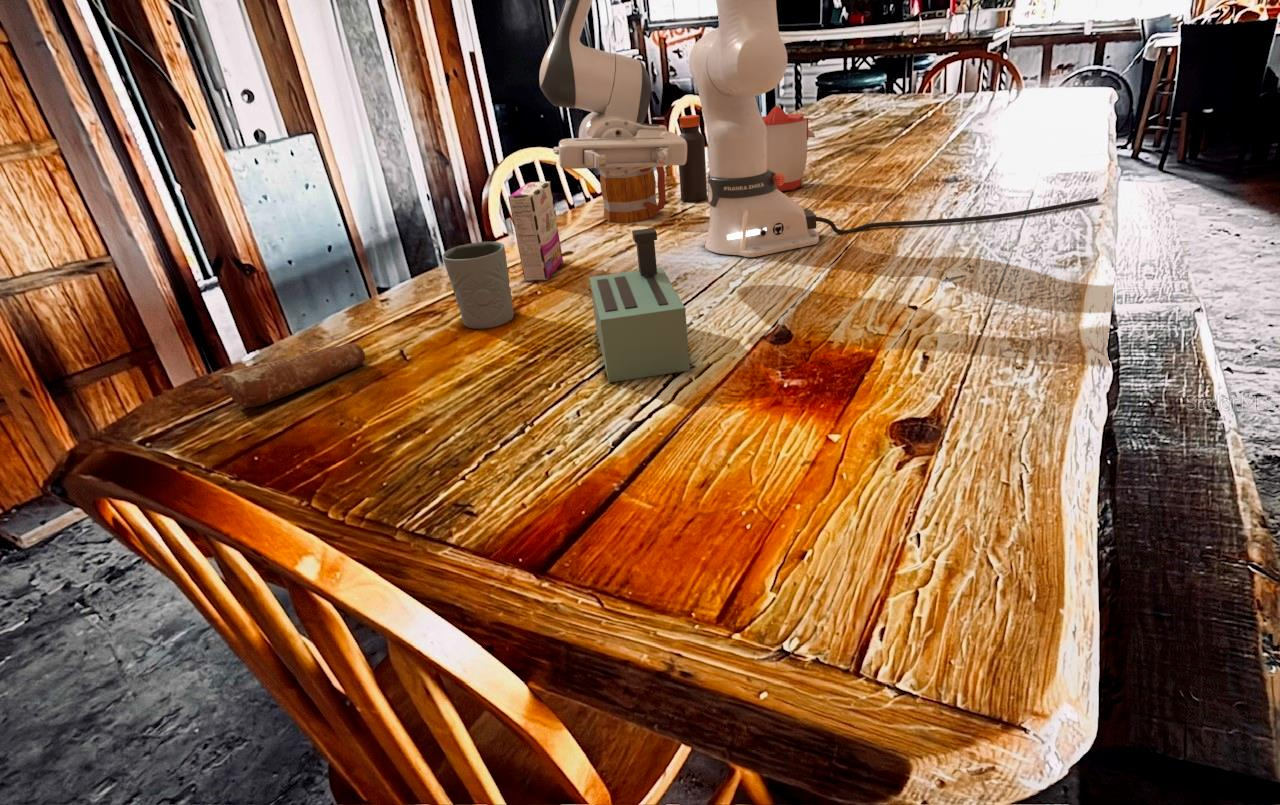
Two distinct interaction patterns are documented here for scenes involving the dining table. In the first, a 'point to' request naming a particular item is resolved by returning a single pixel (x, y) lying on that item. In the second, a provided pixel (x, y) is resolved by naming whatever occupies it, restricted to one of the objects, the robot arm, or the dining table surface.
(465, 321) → the gray embossed cup
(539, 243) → the candy bar box
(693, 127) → the bottle
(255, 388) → the bread
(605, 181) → the mug
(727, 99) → the robot arm
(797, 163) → the citrus juicer
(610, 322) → the toaster
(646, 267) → the slide switch
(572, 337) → the dining table surface
